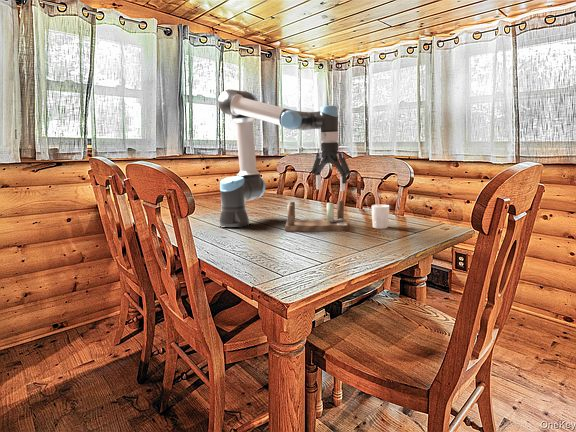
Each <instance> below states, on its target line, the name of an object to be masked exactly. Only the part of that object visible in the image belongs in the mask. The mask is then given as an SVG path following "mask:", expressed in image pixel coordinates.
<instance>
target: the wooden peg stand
mask: <svg viewBox="0 0 576 432" xmlns="http://www.w3.org/2000/svg"><path fill="white" fill-rule="evenodd" d="M336 203H337V205H336V207H337V208H336V211H337V213H336V214H337V215H336V216H337V218H334V220H335V219H340V218H342V219H343V221H340V222H333V223H331V222H329V221H327V218H326V219H296V208H295V207H296V203H295V201H288V204H287V208H286V209H287V210H286V211H287V212H286V213H287V219H286V223H285V226H284V227H285V232H286V233H287V232H288V233H289V232H336V231H338V232H339V231H344V232H345V231H346V232H347V231H349V224H348V222H347V220H346V219H345V218H344V217H345V212H344V211H345V210H344V209H345V206H344V204H345V203H344V200H337V202H336Z"/></svg>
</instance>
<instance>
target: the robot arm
mask: <svg viewBox="0 0 576 432" xmlns="http://www.w3.org/2000/svg"><path fill="white" fill-rule="evenodd" d="M217 102H218V107H219V110H220V111H222V112H223V113H224V114H225V115H230V116H231V121H232V122H233V123H234V124H235V132H236V143H237V153H238V154H237V155H238V165H239V172H238V173H237V174H236V176H235V175H234V176H229V177H225V178H223V179H221V180H220V182H219V191H220V203H221V204H220V206H221V211H220V215H219V220H218V226H219V225H221V226H225V227H240V228H243V227H242V226H245V227H248V226H250V225H251V220H250V218H249V215H248V211H247V209H246V202H248V201H249V202H250V201H255V200H257V199H260V198H261V197H262V196H263V195H264V193H265V191H266V182H265V180H264V179H263V178H262V177H261V173H260V172H259V171H258V168H257V157H256V148H255V147H256V145H255V136H254V134H255V133H254V123H253V122H254V121H255V119H256V120H259V121H263V122H266V123H270V124H274V125H277V126H280V127H281V126H282V127H283V128H285V129H287V130H292V131H293V130H301V131H307V130H309V131H310V130H320V142H321V143H320V147H321V148H320V150H321V152H318V153H316V154H315V155H316V156H315V160H314V163H313V166H312V168H311V172H310V173H311V175H312V174H313V175H314V182H315V188H316V191H317V190H322V174H321V172H322V171H323V170H324V168H325V166H326V165H327V164H332V165H334V167H335V169H336V170H337V171H338V173H339V174H340V176H339V184H340V185H339V186H340V187H339V192H345V191H346V184H347V181H348V180H347V178H348V177H347V176H348V175H351V174H352V172H351V170H350V168H349V166H348V163H347V161H346V158H345V153H344V152H339V142H338V141H339V111H338V107H337V106H336V105H332V104H330V105H322V106H320V109H319V111H298V110H294V109H290V108H285V107H281V106H277V105H274V104H269V103H265V102H262V101H258V98H257V97H256V96H255V95H254V94H253V93H252V92H248V91H247V90H237V89H236V90H235V89H226V90H224V91H222V92H221V93H220V95H219V96H218V100H217ZM338 152H339V153H338ZM249 224H250V225H249ZM247 225H248V226H247Z"/></svg>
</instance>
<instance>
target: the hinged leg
mask: <svg viewBox="0 0 576 432" xmlns="http://www.w3.org/2000/svg"><path fill="white" fill-rule="evenodd" d="M334 206H335V203H334V202H326V219H327V221H329V222H331V223H333V222H340V221H343V219H342V218H340V219H337V218H334V217H335V216H334V215H335V214H334V213H335V212H334V208H335V207H334ZM334 219H335V220H334Z"/></svg>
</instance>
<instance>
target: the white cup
mask: <svg viewBox="0 0 576 432" xmlns="http://www.w3.org/2000/svg"><path fill="white" fill-rule="evenodd" d="M389 215H390V205H389V204H382V203H381V204H380V203H379V204H372V205H371V219H372V220H371V223H372V228H374V229H377V230H378V229H381V230H383V229H387V228H389V218H390V217H389Z"/></svg>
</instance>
